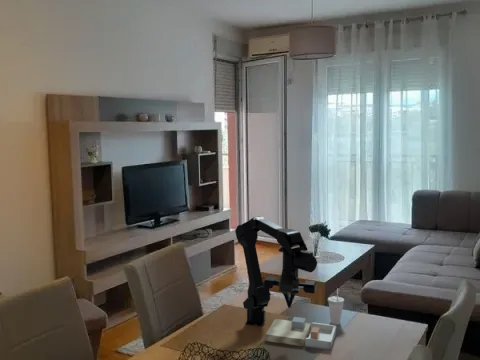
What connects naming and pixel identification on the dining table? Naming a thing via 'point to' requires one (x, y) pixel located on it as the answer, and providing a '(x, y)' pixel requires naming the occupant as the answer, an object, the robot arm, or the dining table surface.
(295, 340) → the board
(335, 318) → the smoothie
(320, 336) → the tray
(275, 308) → the dining table surface
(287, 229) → the robot arm
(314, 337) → the tile front
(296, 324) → the tile back
